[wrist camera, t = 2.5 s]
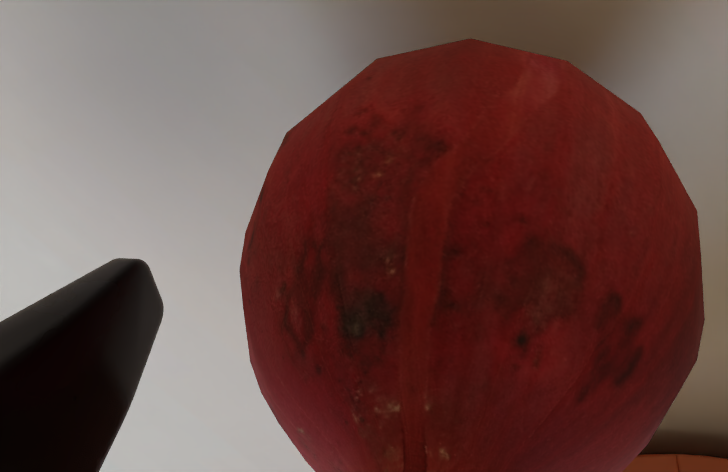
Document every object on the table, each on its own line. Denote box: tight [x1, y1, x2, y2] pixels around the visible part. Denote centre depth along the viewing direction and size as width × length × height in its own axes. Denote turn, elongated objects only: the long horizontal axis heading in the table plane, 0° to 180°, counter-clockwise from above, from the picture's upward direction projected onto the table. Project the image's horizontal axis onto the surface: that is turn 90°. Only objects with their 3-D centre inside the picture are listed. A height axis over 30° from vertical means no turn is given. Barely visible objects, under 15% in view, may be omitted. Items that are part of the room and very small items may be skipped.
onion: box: [240, 39, 705, 472], centre depth 9 cm, size 6×6×8 cm
